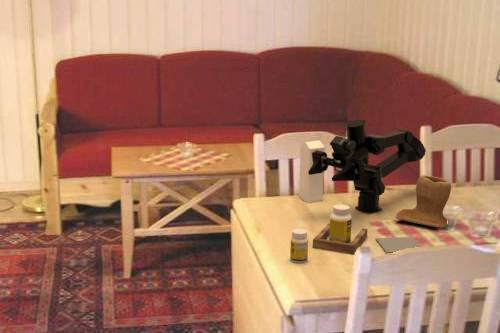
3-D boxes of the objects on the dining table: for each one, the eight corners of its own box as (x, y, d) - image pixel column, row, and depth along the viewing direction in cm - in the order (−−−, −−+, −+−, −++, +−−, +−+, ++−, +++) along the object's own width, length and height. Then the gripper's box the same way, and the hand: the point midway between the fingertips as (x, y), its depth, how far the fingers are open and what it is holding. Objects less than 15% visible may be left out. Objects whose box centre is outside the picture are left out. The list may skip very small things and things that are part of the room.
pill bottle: (349, 247, 213) (351, 211, 210) (328, 245, 214) (329, 209, 211) (351, 240, 219) (353, 204, 216) (330, 238, 220) (331, 202, 217)
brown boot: (454, 222, 235) (458, 176, 231) (441, 232, 225) (445, 185, 221) (409, 213, 243) (412, 168, 239) (394, 223, 233) (397, 177, 229)
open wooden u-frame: (328, 231, 226) (328, 223, 225) (367, 236, 221) (367, 228, 220) (312, 247, 212) (312, 239, 212) (353, 254, 208) (353, 246, 207)
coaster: (375, 240, 219) (375, 238, 218) (411, 238, 220) (411, 236, 220) (386, 254, 208) (386, 252, 208) (424, 252, 209) (424, 250, 209)
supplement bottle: (289, 256, 206) (289, 228, 203) (305, 256, 206) (306, 227, 204) (291, 263, 201) (292, 234, 199) (308, 263, 201) (309, 234, 199)
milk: (322, 200, 254) (325, 137, 249) (308, 203, 252) (310, 139, 246) (312, 195, 260) (315, 134, 254) (298, 198, 257) (300, 135, 251)
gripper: (326, 127, 236) (293, 146, 227) (374, 137, 224) (341, 157, 214) (330, 159, 241) (298, 178, 232) (377, 171, 228) (345, 192, 219)
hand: (320, 176), depth 224 cm, fingers open, 9 cm apart
